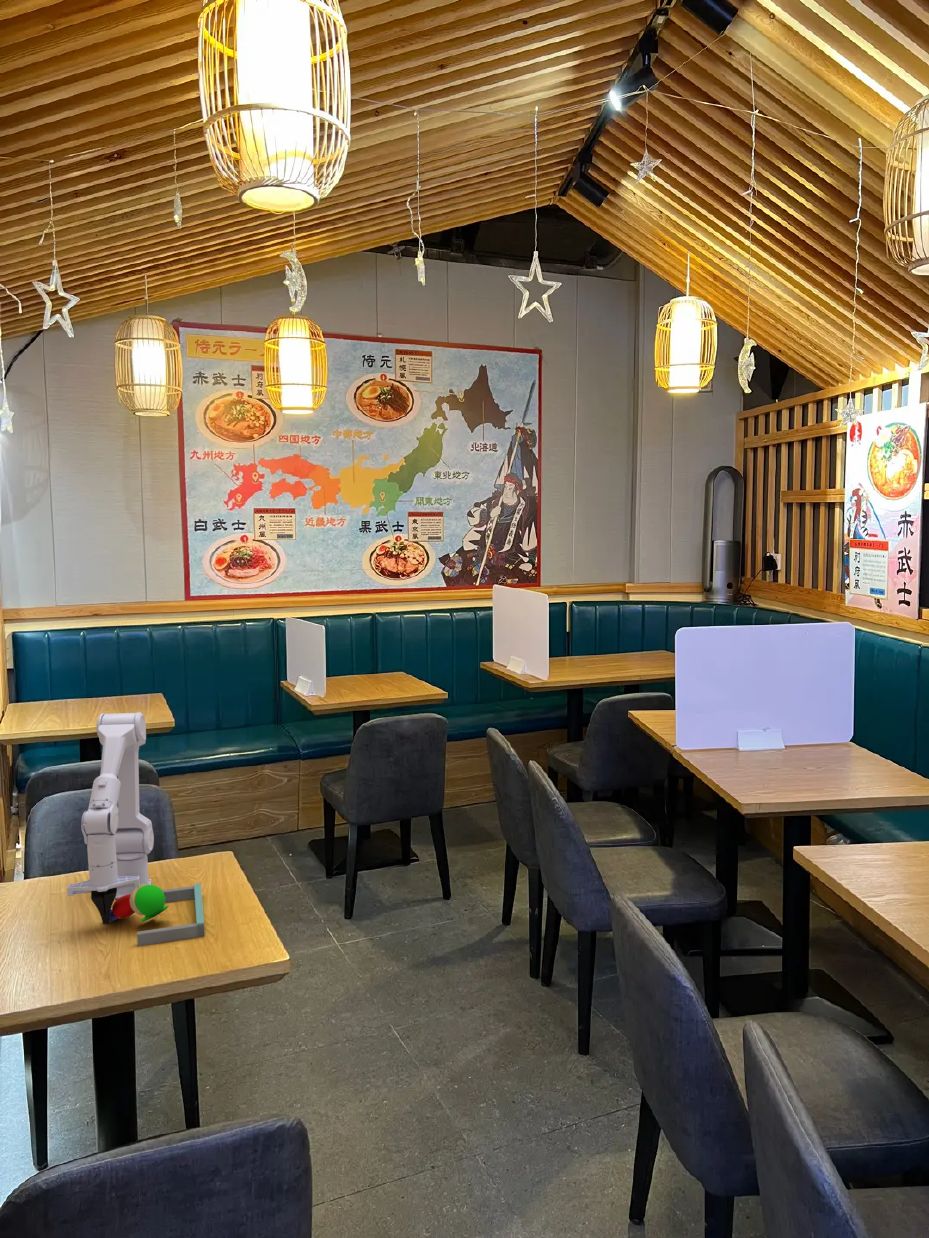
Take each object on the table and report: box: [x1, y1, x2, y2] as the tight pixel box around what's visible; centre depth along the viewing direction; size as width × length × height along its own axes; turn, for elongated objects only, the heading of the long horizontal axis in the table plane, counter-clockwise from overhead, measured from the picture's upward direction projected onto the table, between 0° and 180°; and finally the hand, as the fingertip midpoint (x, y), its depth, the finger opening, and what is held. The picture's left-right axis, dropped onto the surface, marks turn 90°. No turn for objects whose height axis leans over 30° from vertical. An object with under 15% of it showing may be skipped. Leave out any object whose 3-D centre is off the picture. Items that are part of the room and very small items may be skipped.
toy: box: [109, 884, 169, 927], centre depth 200 cm, size 8×8×15 cm
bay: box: [136, 882, 206, 947], centre depth 202 cm, size 23×14×3 cm, turn 18°
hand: (106, 922), depth 198 cm, fingers closed
